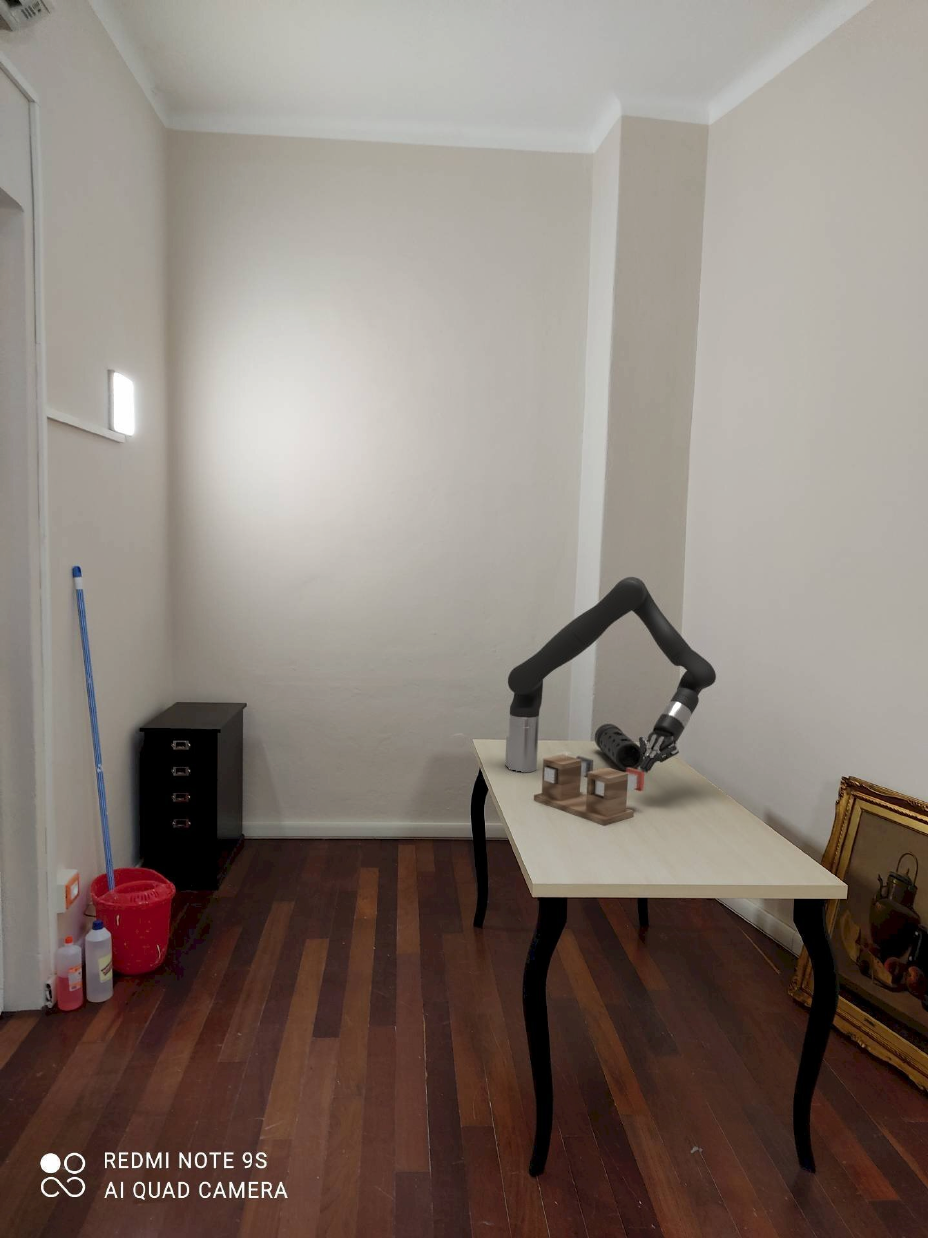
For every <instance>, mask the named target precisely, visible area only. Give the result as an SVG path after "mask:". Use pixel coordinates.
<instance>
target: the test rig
mask: <svg viewBox="0 0 928 1238" xmlns="http://www.w3.org/2000/svg"><path fill="white" fill-rule="evenodd" d="M581 764H582V760H580V759H577V757H573V756H569V755H565V754H558V755H554V756H549V757H544V758H543V759H542V776H541V777H542V779H541V792H540V793H537V794H533V801H536V802H537V803H540V804H544V805H546V806H548V807H552V808H555V809H558V810H560V811H563V812H566V813H568V814H572V815H574V816H577V817H579V818H583V819H586V820H588V821H591V822H594V823H597V824H600V825H602V826H607V825H610V824H613V823H617V822H619V821H624V820H627V819H629V818H632V817H634V813H635V812H634V810H632V809H629V808H627V799H628V791H627V786H628V773H625V771H621V770H618V769H614V768H610V767H604V768H598V769H595V770H593V771H590V772H588V777H587V781H586V783H587V784H586V794H583V793H581V781H582V780H581V779H582V777H581ZM549 766H551V767H555V768H558V782H557V783H551V782H548V781H545V780H544V773H545V767H549ZM595 780H596V781H600V782H603V783H604V796H601V795H598V794H595Z"/></svg>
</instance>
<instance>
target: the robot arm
mask: <svg viewBox="0 0 928 1238" xmlns="http://www.w3.org/2000/svg"><path fill="white" fill-rule="evenodd" d="M631 612H633V613H634V614H635V615H636V616H637V617H638V618H639V619H640V620H641V622H642V623H643V624H644V625H645V626H646V629H647V630H648V631H649V634H650V635H651V636H652V639H653V641H654V642H655V643H656V645H657V647H658V648H659V649H660V650H661V651H662V653H663V654H664V655H665V657H666V658H667V659H668V660H669V661H670V663H671V664H672V665H673V666H675V667H682V668H684V669H685V670H686V671H685V672H684V673H683V675H682V676H681V678H680V679H679V682H678V686H677V688H676V691H675V692H674V694H673V696H672V698H671V699H670V701H669V702H668V704H667V705H666V706H665V708H664V709H663V710H662V712H661V714H660V716H659V717H658V718H657V720H656V722H655V724H654V725H653V728H652V729H653V730H652V731H651V732H650V733H649V734H648V735H647V737H642V736H640V737H639V738H638V744H639V747H640V750H641V753H642V755H643V756H644V758H643V761H642V762H641V764H640V767H639V768H640V771H643V772H645V773H647V774H648V773H649V772H651V770H652V768H653V767H654V765H655V763H657V762H660V763H663V762H665V761H667V760H669V759H671V758H673V757H675V756H676V755H678V754H679V753H680V751H679V748H678V747H677V746H676V744H677V742H678V740H679V739H680V737H681V736H682V734H683V732H684V731H685V729H686V727H687V726H688V723H689V722H690V719H691V717H692V715H693V713H694V711H695V710H696V709H697V706H698V705H699V702H700V699H699V696H700V693H701V692H702V691H703V690H704V689H706V688H708V687H711V686H712V685H714V684H715V682H716V679H717V675H716V674H717V673H716V671H715V668H714V666H713V665H712V664H711V663H710V662H709V661H708V660H707V659H706V658H704V657H703V656H701V654H700V653H698V652H696V651H695V650H694V649H693V648H692V647H691V646H690V645H689V644H688V643H687V641H686V640H685V639H684V637H683V636H682V635H681V634H680V632H678V630H677V629H676V628H675V626H673V625H672V624H671V622H670V621H669V620H668V619H667V617H666V616H665V615H664V613H663V612H662V610H661V609H660V608H659V606H658V605H657V603H656V602H655V600H654V599H653V597H652V595H651V593H650V592H649V590H648V588H647V586H646V584H645V582H644V581H643V580H641V579H640V578H639V577H634V576H627V577H624V578H623V579H621V580H620V581H618V582H617V583H616V584H615V586H614V587H613V588H612V589H611V590H610V591H609V592H608V593H607V594H606V595H605V596H604V597H603V598H602V599H601V600H600V601H599V602H598V603H596V604H595V605H594V606H592V607H591V608H589V609H588V610H586V611H584V612H582V613H581V614H580V615H578V616H577V617H575V618H574V619H572V621H570V622H569V623H567V625H566V624H565V626H564V627H563V628H561V629H560V630H559V631H558V632H557V633H556V634H555V635H554V636H553V637H552V638H550V639H549V640H548V641H547V642H546V644H545V645H543V646H542V647H541V649H540V650H539V651H537V652H536V653H535V654H533V655H532V656H530V657H529V658H528V659H526V660H525V661H523V662H522V663H519V664H518V665H517V666H514V667H513V668H512V669H511V670H510V673H509V675H508V677H507V685H508V687H509V690H510V691H511V692H512V693H513V698H512V700H511V701H512V702H511V704H510V706H509V718H508V719H509V722H508V724H509V725H508V736H506V738H505V739H506V740H505V760H504V761H505V762H504V765H506V766H507V767H508V768H510V769H511V770H510V769H509V770H510V771H512V770H516V771H515V772H517V771H521V772H520V773H531V772H535V771H537V769H538V750H539V731H540V730H539V727H540V724H539V723H540V710H541V707H542V702H543V692H544V691H543V689H544V680H545V678H546V677H547V676H548V675H549V674H551V673H553V671H555V670H556V669H558V668H560V667H562V666H564V665H565V664H567V663H569V662H570V661H572V660H573V659H574V658H576V657H578V656H579V655H580V654H582V653H583V652H584V651H585V650H586V649H588V648H589V647H591V646H592V645H593V644H594V643H595V642H596V641H597V640H598V639H599V638H601V636H602V635H603V634H604V633H605V632H607V629H608V628H610V626H611V625H612V624H614V623H615V622H617V621H618V620H619V619H620V618H623V617H624V616H625V615H627V614H628V613H631ZM506 766H505V767H506ZM507 767H506V768H507ZM508 768H507V769H508Z"/></svg>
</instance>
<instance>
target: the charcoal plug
mask: <svg viewBox="0 0 928 1238" xmlns="http://www.w3.org/2000/svg"><path fill="white" fill-rule="evenodd" d="M576 758H577V759H580V760H582V764H581V778H582V777H584V778H587V777H588V772H590V771H594V759H592V758H587V757H584V756H581V755H577V756H576ZM544 780H545V781H548V782H551V783H557V782H558V768H555V767H551V766H549V767H545V773H544Z"/></svg>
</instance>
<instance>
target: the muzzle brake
mask: <svg viewBox="0 0 928 1238" xmlns="http://www.w3.org/2000/svg"><path fill="white" fill-rule="evenodd" d="M594 742H595V745H596V746H597V748H598V749H599V750H601V751H602V752H604V754H606V755H607V756H608V758H609V759H610V760H612V761H613V763H615V764H616V765H617V767H619V768H620V769H621V770H623V772H626V768H633V769H636V770H638V769H639V768H640V764H641V762H642V761H643V759H644V756H643V755H642V753H641V750H640V745H638V744H637V743H636V742H634V741H633V740H632V739H631V738H630V737H628V736H627V735H626V734H625V733H624V732H623V730H621V729H620V728H619V727H618V726H617V725H615V724H613V723H605V724H604V723H603V724H602V725H600V726H599V727H598V728H597V729H596V731H595V733H594Z"/></svg>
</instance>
